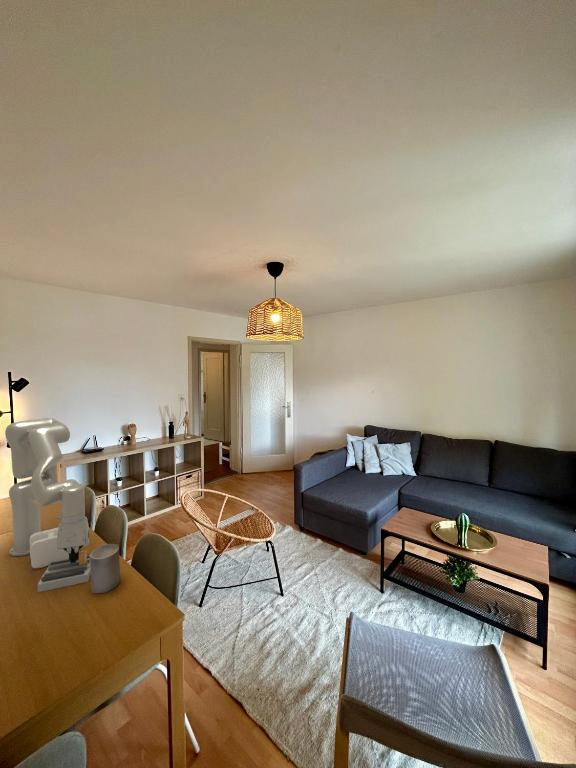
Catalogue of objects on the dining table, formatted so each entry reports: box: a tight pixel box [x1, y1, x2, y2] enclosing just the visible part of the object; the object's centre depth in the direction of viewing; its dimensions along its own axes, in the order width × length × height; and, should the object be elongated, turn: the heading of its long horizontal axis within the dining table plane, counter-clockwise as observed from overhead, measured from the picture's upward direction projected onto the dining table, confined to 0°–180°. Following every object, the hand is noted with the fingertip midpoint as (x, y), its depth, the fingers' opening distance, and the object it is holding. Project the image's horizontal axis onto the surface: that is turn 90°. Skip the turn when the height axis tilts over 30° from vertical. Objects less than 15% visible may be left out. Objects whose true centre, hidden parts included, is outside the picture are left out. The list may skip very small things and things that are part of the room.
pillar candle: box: [89, 543, 121, 594], centre depth 117 cm, size 10×10×15 cm
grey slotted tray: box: [37, 554, 91, 593], centre depth 122 cm, size 12×16×5 cm
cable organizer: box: [29, 527, 69, 569], centre depth 133 cm, size 15×11×12 cm
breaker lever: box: [78, 549, 88, 566], centre depth 123 cm, size 3×3×6 cm
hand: (74, 560), depth 122 cm, fingers closed
